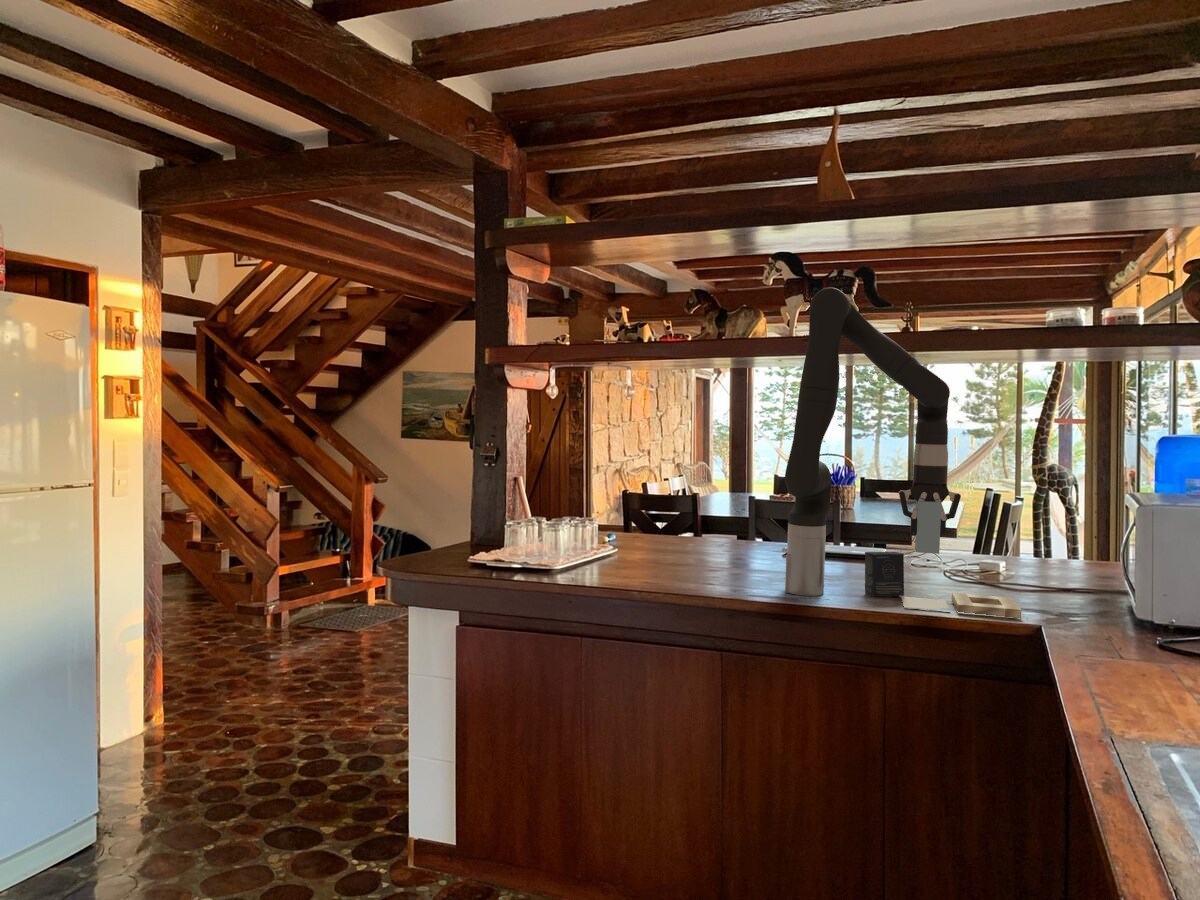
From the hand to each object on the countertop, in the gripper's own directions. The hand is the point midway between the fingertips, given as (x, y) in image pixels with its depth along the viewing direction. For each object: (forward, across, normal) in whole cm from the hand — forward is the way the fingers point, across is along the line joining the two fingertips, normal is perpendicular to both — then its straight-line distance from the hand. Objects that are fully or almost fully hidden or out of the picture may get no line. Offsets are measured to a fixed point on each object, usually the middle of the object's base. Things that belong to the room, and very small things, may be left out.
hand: (927, 534), depth 195 cm
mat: (+17, 0, 0) cm, 17 cm away
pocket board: (+17, +13, 0) cm, 21 cm away
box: (+17, -9, +7) cm, 20 cm away
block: (+4, 0, 0) cm, 4 cm away
